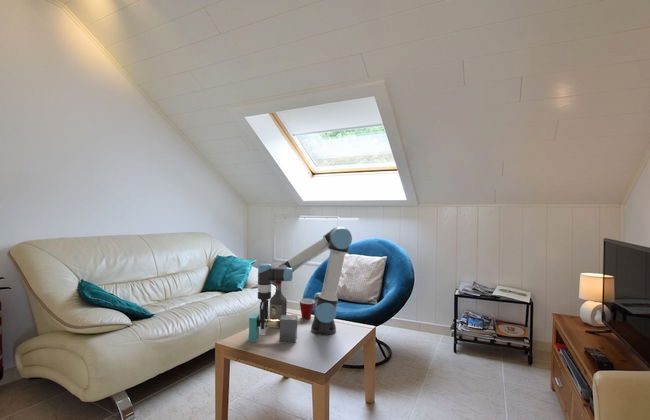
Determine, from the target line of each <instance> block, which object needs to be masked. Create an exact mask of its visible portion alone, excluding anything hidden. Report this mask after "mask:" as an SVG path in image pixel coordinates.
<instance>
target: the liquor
mask: <svg viewBox="0 0 650 420" xmlns="http://www.w3.org/2000/svg"><path fill="white" fill-rule="evenodd" d="M282 283H283V281H275V293H274V294H273V295H272V296H271V298H270V299H269V320H280V318H281V316H282V315H287V311H288V310H287V307H288V306H287V305H288V304H287V302H288V301H287V300H288V299H287V298H286V297H285V295H284V294H283V292H282ZM272 328H275V329H280V327H272Z"/></svg>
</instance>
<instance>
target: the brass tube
mask: <svg viewBox="0 0 650 420" xmlns="http://www.w3.org/2000/svg"><path fill="white" fill-rule="evenodd" d="M259 322H260V318H259V319H257V327H259V328H260V323H259ZM265 323H266V325H265V328H266V327H267V328H273V327H280V320H270V319H265Z"/></svg>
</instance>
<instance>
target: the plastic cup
mask: <svg viewBox="0 0 650 420" xmlns="http://www.w3.org/2000/svg"><path fill="white" fill-rule="evenodd" d="M298 302H299V305H300V306H299V307H300V314H301V319H303V320H309V319H311V316H312V311H313V309H314V308H313V307H314V304H315V299H312V298H299V300H298Z"/></svg>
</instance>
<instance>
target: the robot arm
mask: <svg viewBox="0 0 650 420" xmlns="http://www.w3.org/2000/svg"><path fill="white" fill-rule="evenodd" d="M352 241H353V235H352V233H351V231H350V230H349V229H348V228H346V227H345V226H344V227H343V226H335V227H333V228H332V229H331V230H330V231H328V232H327V233H326V234H324V235H323V236H322V238H321V239H319V240H318V241H316V242H314V243H313V244H311V245H310V246H308V247H307V248H305V249H304V250H302V251H301V252H299V253H297V254H296V255H294V256H292V257H291V258H290V259H288V260H287V261H285V262H282V263H281V264H279V265H278V267H273V266H272V264H271V263H260V264H259V265H258V268H257V269H258V270H257V285H256V288H257V300H260V302H259V319H260V322H259V323H260V327H259V336H261V335H262V336H263V335H264V336H265V335H266V332H268V327H266V328H265V325H266V323H265V319H267V320H270V317H269V302H270V299H271V298H272V292H271V291H272V282H276V281H282V282H291V281H293V273H294V272H295V271H297V270H298V269H300V268H302V267H303V266H304V265H306V264H308V263H309V262H311V261H312V260H314V259H316V258H317V257H319V256H321V255H322V254H323V253H325V252H327V251H329V256H328V260H327V265H326V270H325V274H324V279H323V285H322V288H321V292H316V293H315V294H314V301H315V302H314V304H313V307H314V308H313V309H314V313H313V314H314V315H313V316H314V317H313V321H312V323H311V327H310V331H311V332H312V333H313V334H314V335H320V336H321V335H322V336H328V335H332V334H335V333H336V332H337V326H336V322H335V319H336V317H337V315H338V314H337V306H338V302H339V299H338V296H337V293H338V288H339V284H340V279H341V275H342V271H343V265H344V260H345V257H346V256H345V255H347V254H348V253H349V249H350V246H351V244H352Z"/></svg>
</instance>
